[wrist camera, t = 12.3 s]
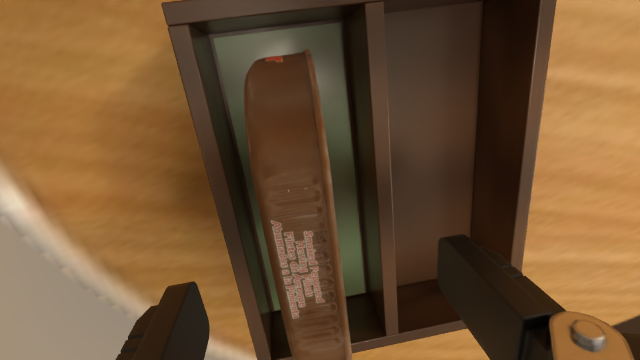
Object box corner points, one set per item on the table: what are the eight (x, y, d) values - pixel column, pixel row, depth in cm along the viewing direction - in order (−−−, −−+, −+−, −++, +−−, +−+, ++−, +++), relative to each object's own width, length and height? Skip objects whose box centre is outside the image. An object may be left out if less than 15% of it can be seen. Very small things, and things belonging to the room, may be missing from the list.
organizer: (192, 21, 16) (160, 2, 11) (488, -14, 17) (563, -43, 13) (263, 314, 23) (260, 373, 18) (471, 272, 24) (515, 318, 20)
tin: (336, 283, 22) (372, 406, 14) (292, 292, 21) (302, 422, 13) (307, 53, 16) (337, 38, 8) (247, 60, 16) (221, 52, 8)
